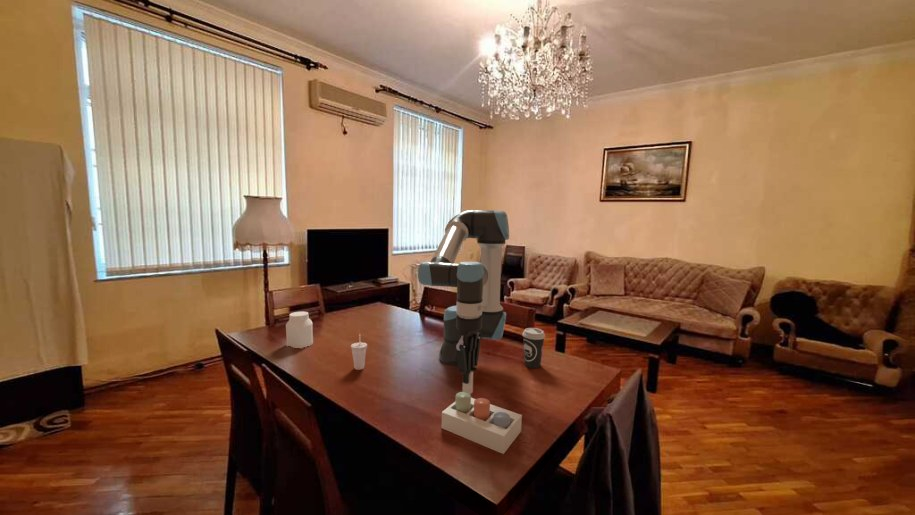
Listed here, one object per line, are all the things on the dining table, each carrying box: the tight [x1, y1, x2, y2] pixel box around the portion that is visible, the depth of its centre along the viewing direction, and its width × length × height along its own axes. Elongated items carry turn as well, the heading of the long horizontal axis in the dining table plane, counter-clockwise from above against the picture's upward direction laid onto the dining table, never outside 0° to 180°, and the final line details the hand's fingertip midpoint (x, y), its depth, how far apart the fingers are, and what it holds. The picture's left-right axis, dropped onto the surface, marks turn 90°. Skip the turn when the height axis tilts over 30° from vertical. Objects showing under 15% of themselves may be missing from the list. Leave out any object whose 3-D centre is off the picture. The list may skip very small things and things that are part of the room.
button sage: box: [455, 391, 472, 414], centre depth 104 cm, size 5×5×6 cm
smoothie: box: [350, 333, 368, 371], centre depth 140 cm, size 6×6×14 cm
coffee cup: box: [521, 327, 546, 369], centre depth 146 cm, size 10×10×15 cm
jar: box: [285, 311, 314, 349], centre depth 165 cm, size 12×10×15 cm
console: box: [441, 397, 523, 455], centre depth 101 cm, size 20×12×5 cm, turn 57°
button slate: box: [493, 412, 510, 429], centre depth 98 cm, size 5×5×6 cm
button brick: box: [474, 397, 491, 421], centre depth 101 cm, size 5×5×6 cm
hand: (467, 391), depth 104 cm, fingers closed
